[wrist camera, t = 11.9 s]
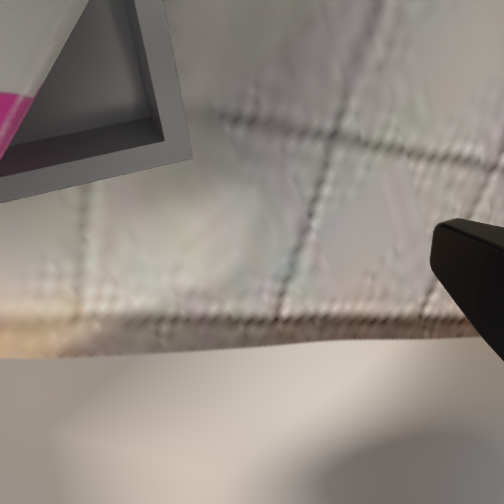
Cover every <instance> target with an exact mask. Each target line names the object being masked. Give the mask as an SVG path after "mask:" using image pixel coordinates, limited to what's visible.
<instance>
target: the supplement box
mask: <svg viewBox="0 0 504 504" xmlns="http://www.w3.org/2000/svg"><path fill="white" fill-rule="evenodd" d="M88 1H89V0H0V160H1V158H2V157H3V155H4V153H5V151H6V149H7V148H8V146H9V144H10V142H11V140H12V139H13V137H14V135H15V133H16V131H17V130H18V128H19V126H20V124H21V122H22V121H23V119H24V117H25V115H26V113H27V112H28V110H29V108H30V106H31V104H32V102H33V101H34V99H35V97H36V95H37V93H38V91H39V90H40V88H41V86H42V84H43V82H44V80H45V79H46V77H47V75H48V73H49V71H50V70H51V68H52V66H53V64H54V62H55V61H56V59H57V57H58V55H59V53H60V52H61V50H62V48H63V46H64V44H65V43H66V41H67V39H68V37H69V35H70V33H71V32H72V30H73V28H74V26H75V25H76V23H77V21H78V19H79V18H80V16H81V14H82V12H83V10H84V8H85V7H86V5H87V3H88Z"/></svg>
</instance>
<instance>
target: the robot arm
mask: <svg viewBox="0 0 504 504" xmlns="http://www.w3.org/2000/svg"><path fill="white" fill-rule="evenodd" d="M430 266H431V269H432V271H433V273H434V274H435V276H436V277H437V278H438V280H439V281H440V282H441V284H442V285H443V286H444V288H445V289H446V290H447V292H448V293H449V295H450V296H451V297H452V299H453V300H454V301H455V303H456V304H457V305H458V307H459V308H460V309H461V311H462V312H463V313H464V315H465V316H466V317H467V319H468V320H469V321H470V323H471V324H472V325H473V327H474V328H475V329H476V331H477V332H478V333H479V334H480V335H481V337H482V338H483V339H484V340H485V341H486V342H487V344H488V345H489V346H490V347H491V348H492V349H493V350H494V351H495V352H496V353H497V355H498V356H499V357H500V358H501V359H502V360H503V361H504V227H499V226H494V225H489V224H484V223H480V222H475V221H470V220H465V219H460V218H455V219H451V220H448V221H444V222H441V223H439V224H437V225H436V227H435V228H434V231H433V238H432V246H431V254H430Z"/></svg>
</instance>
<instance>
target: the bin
mask: <svg viewBox="0 0 504 504" xmlns="http://www.w3.org/2000/svg"><path fill="white" fill-rule="evenodd" d="M192 158H193V156H192V151H191V145H190V140H189V135H188V130H187V124H186V119H185V114H184V108H183V103H182V98H181V92H180V87H179V82H178V76H177V71H176V66H175V60H174V55H173V50H172V44H171V39H170V34H169V28H168V23H167V18H166V12H165V7H164V2H163V0H89V1H88V3H87V5H86V7H85V8H84V10H83V12H82V14H81V16H80V18H79V19H78V21H77V23H76V25H75V26H74V28H73V30H72V32H71V33H70V35H69V37H68V39H67V41H66V43H65V44H64V46H63V48H62V50H61V52H60V53H59V55H58V57H57V59H56V61H55V62H54V64H53V66H52V68H51V70H50V71H49V73H48V75H47V77H46V79H45V80H44V82H43V84H42V86H41V88H40V90H39V91H38V93H37V95H36V97H35V99H34V101H33V102H32V104H31V106H30V108H29V110H28V112H27V113H26V115H25V117H24V119H23V121H22V122H21V124H20V126H19V128H18V130H17V131H16V133H15V135H14V137H13V139H12V140H11V142H10V144H9V146H8V148H7V149H6V151H5V153H4V155H3V157H2V158H1V160H0V203H4V202H8V201H12V200H17V199H21V198H25V197H30V196H34V195H38V194H42V193H47V192H51V191H55V190H60V189H64V188H68V187H72V186H77V185H81V184H85V183H90V182H94V181H98V180H102V179H107V178H111V177H115V176H120V175H124V174H128V173H132V172H137V171H141V170H145V169H150V168H154V167H158V166H162V165H167V164H171V163H175V162H180V161H184V160H188V159H192Z"/></svg>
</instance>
